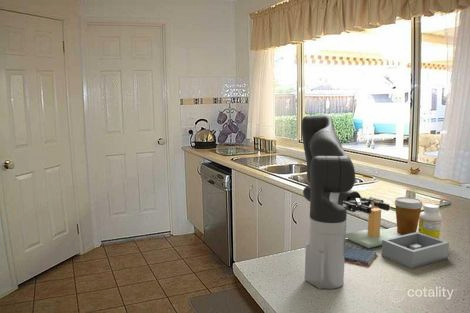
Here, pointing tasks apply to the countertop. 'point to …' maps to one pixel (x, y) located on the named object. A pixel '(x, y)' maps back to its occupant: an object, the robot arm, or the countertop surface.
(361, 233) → the lid
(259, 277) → the countertop surface
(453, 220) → the countertop surface
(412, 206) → the disposable coffee cup
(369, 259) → the woven mat
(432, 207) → the supplement bottle
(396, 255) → the parts tub
